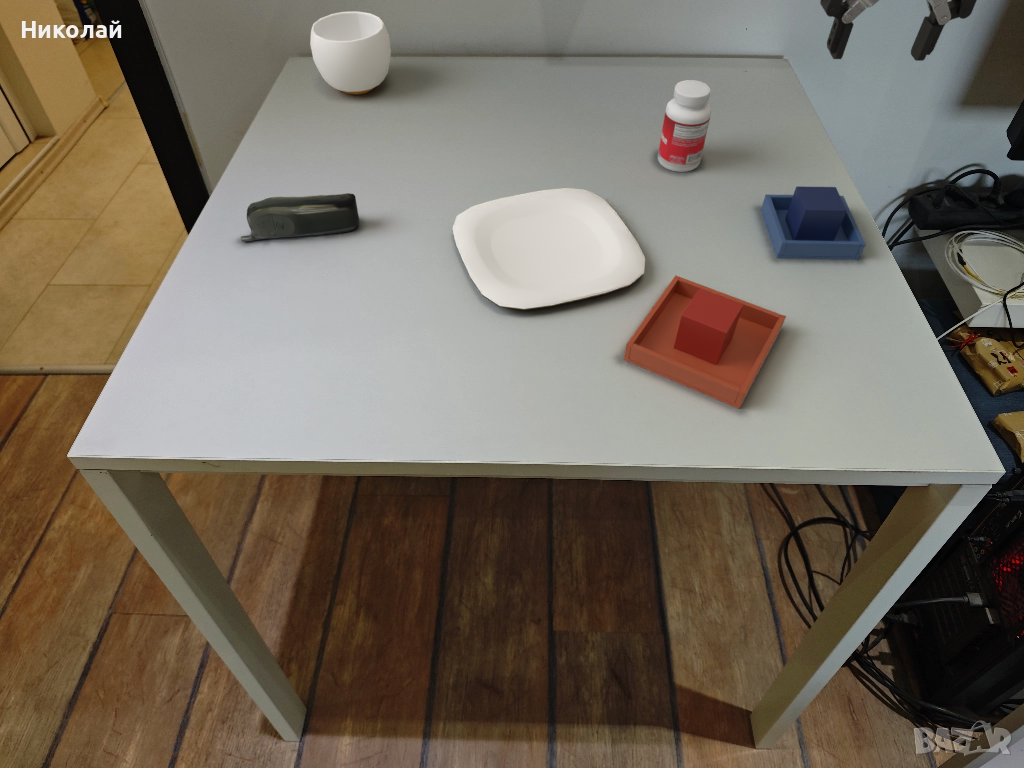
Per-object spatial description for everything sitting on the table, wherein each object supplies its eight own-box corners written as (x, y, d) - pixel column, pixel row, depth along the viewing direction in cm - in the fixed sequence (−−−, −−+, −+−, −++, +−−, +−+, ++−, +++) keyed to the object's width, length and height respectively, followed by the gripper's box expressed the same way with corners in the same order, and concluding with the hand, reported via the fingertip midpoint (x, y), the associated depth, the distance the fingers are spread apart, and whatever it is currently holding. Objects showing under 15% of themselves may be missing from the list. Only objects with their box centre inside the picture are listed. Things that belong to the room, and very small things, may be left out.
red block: (732, 337, 80) (743, 304, 77) (716, 365, 78) (726, 332, 74) (690, 321, 82) (699, 288, 78) (673, 348, 79) (681, 315, 75)
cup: (309, 102, 116) (296, 41, 108) (332, 66, 124) (321, 7, 116) (384, 107, 114) (376, 46, 107) (402, 71, 122) (395, 11, 115)
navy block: (823, 219, 95) (836, 186, 91) (833, 243, 91) (846, 210, 87) (784, 218, 95) (796, 186, 91) (793, 242, 91) (805, 209, 88)
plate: (592, 189, 100) (593, 178, 99) (662, 288, 86) (664, 277, 85) (441, 219, 95) (440, 208, 94) (489, 329, 82) (489, 318, 81)
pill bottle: (661, 146, 107) (674, 74, 99) (703, 154, 106) (719, 81, 97) (653, 169, 103) (665, 95, 95) (696, 177, 102) (712, 102, 93)
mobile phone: (354, 187, 92) (232, 199, 90) (355, 201, 90) (231, 213, 88) (359, 220, 96) (242, 232, 93) (361, 233, 94) (241, 246, 91)
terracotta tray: (779, 332, 82) (786, 316, 80) (739, 409, 74) (745, 393, 72) (671, 291, 86) (675, 275, 84) (623, 360, 79) (626, 344, 77)
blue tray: (837, 211, 97) (843, 195, 95) (858, 260, 90) (866, 244, 88) (760, 210, 97) (765, 194, 95) (776, 258, 90) (782, 242, 88)
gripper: (877, -115, 61) (816, 72, 74) (1047, -113, 61) (957, 74, 73) (852, -139, 66) (799, 40, 78) (1009, -138, 66) (931, 42, 78)
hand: (875, 56), depth 76 cm, fingers open, 8 cm apart
